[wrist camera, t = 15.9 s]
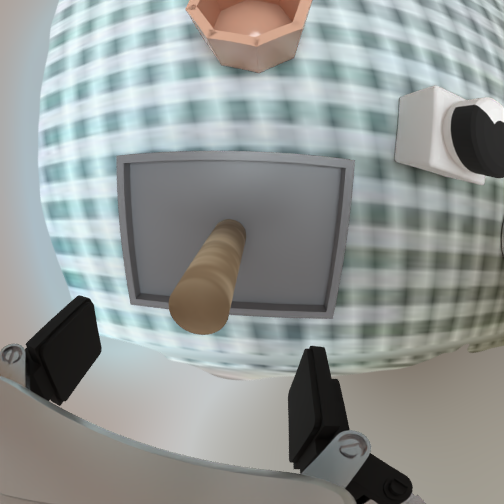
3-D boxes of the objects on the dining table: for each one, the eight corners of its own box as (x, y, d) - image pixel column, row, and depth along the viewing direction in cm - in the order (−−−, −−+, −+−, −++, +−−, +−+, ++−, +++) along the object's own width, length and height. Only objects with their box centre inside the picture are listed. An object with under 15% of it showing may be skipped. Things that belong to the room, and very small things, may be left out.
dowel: (252, 241, 27) (240, 321, 14) (223, 256, 27) (190, 341, 15) (235, 213, 26) (206, 271, 13) (207, 229, 26) (157, 296, 14)
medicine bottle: (444, 176, 24) (521, 197, 12) (392, 161, 24) (467, 172, 13) (450, 116, 21) (526, 112, 10) (398, 96, 21) (470, 72, 10)
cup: (317, 49, 20) (332, 19, 14) (234, 85, 22) (223, 63, 16) (270, -11, 18) (270, -48, 11) (192, 23, 20) (172, -8, 13)
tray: (347, 159, 24) (354, 160, 22) (328, 307, 30) (332, 318, 28) (126, 155, 25) (116, 155, 23) (138, 295, 30) (130, 304, 28)
